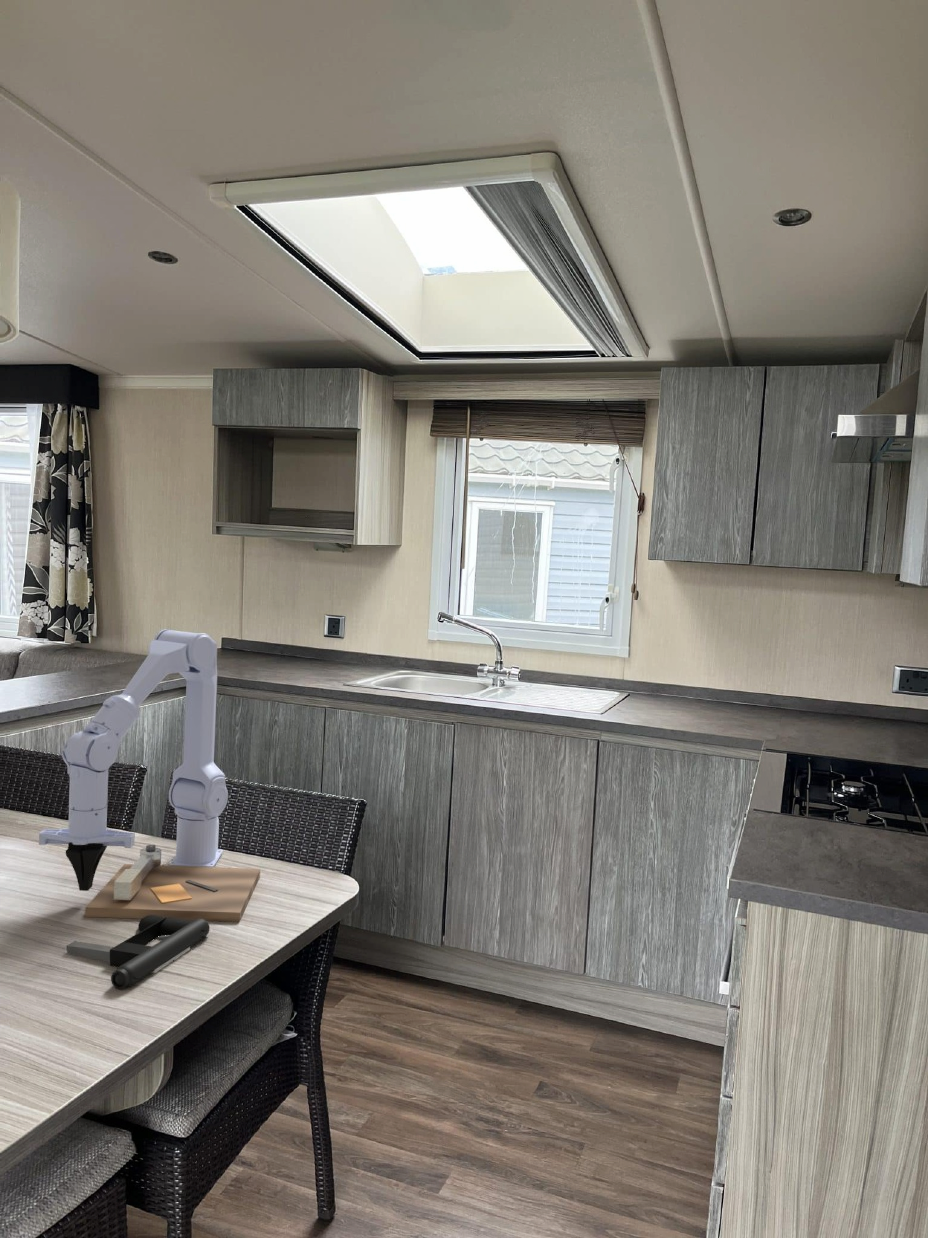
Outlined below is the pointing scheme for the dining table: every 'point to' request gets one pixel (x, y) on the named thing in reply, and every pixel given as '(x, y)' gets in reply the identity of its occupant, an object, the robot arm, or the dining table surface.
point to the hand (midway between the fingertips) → (85, 888)
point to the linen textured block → (136, 873)
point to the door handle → (145, 948)
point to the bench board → (181, 894)
